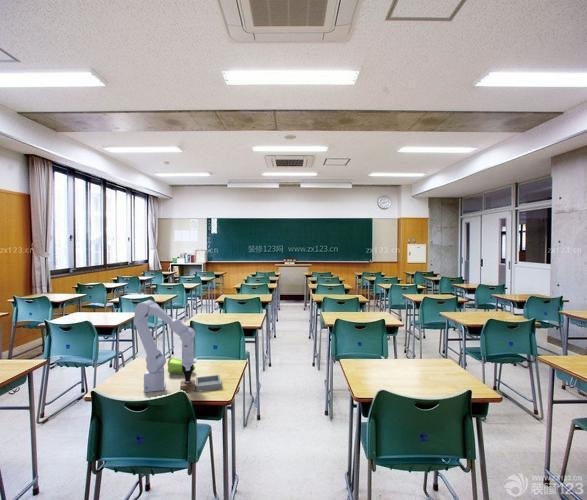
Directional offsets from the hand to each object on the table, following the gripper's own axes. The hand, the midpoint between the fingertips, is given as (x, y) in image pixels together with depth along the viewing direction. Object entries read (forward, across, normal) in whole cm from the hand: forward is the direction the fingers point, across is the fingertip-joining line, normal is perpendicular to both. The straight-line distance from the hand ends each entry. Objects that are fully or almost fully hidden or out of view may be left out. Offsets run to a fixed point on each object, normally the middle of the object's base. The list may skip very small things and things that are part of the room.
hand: (187, 380), depth 168 cm
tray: (+4, +1, -10) cm, 11 cm away
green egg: (+4, +25, +5) cm, 26 cm away
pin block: (+4, 0, 0) cm, 4 cm away
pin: (+4, 0, 0) cm, 4 cm away
